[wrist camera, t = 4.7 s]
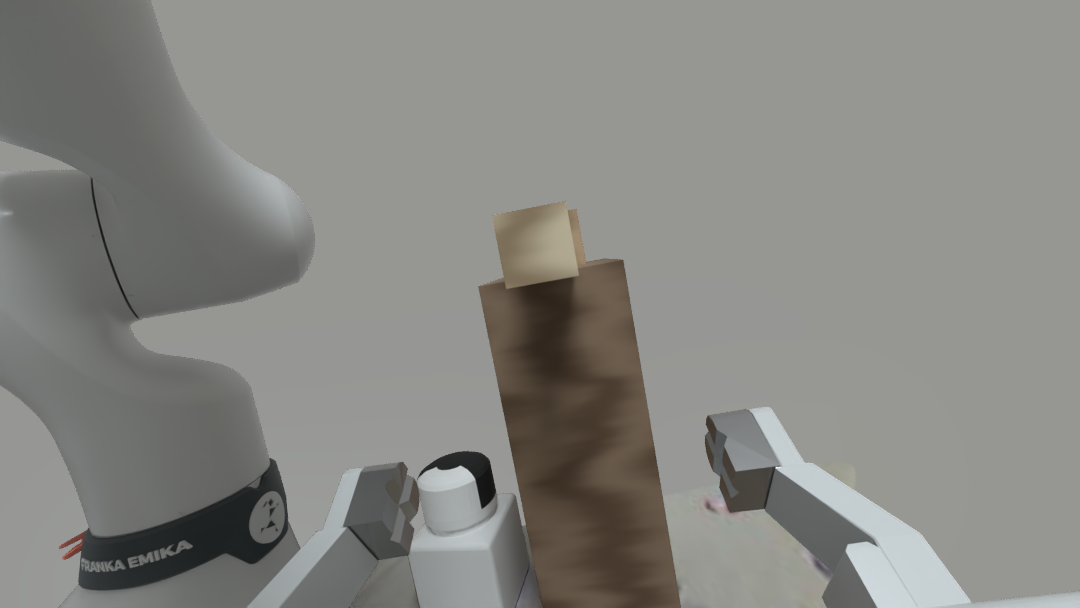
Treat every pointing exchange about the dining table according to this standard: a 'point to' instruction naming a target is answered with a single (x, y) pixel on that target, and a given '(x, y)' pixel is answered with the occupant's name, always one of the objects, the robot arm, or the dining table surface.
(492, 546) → the medicine bottle
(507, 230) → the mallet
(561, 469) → the stand
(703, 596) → the dining table surface
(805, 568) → the dining table surface
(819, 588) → the dining table surface
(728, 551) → the dining table surface
